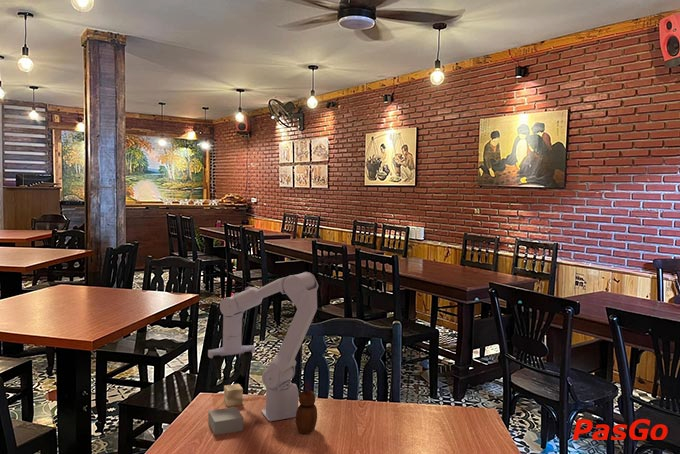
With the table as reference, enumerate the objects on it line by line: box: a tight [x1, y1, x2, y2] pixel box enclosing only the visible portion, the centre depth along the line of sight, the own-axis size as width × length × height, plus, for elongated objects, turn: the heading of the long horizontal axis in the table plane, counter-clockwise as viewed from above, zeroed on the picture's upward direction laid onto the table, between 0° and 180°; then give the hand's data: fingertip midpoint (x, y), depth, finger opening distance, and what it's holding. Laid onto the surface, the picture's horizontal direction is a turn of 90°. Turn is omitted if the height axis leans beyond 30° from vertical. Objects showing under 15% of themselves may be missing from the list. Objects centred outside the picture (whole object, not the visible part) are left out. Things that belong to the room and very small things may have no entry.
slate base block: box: [207, 406, 244, 436], centre depth 145 cm, size 8×8×4 cm
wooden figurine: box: [295, 380, 318, 435], centre depth 144 cm, size 7×6×15 cm
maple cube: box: [223, 383, 244, 407], centre depth 162 cm, size 5×5×5 cm
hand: (231, 377), depth 161 cm, fingers open, 7 cm apart
